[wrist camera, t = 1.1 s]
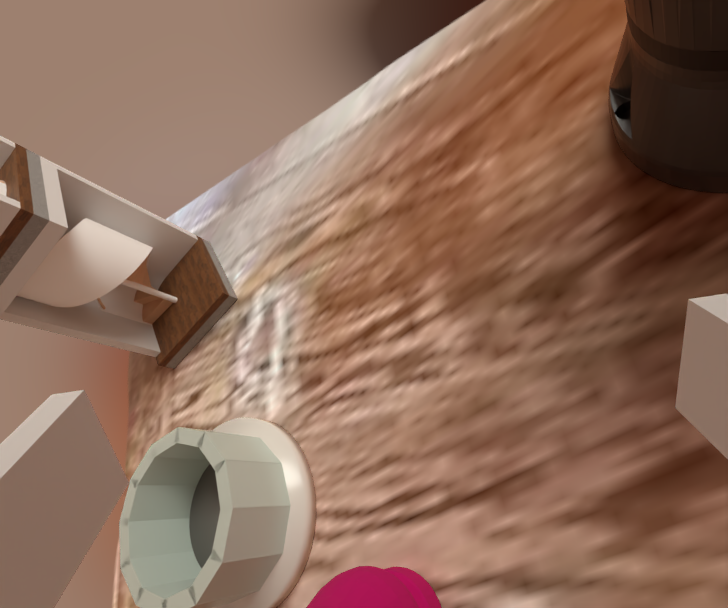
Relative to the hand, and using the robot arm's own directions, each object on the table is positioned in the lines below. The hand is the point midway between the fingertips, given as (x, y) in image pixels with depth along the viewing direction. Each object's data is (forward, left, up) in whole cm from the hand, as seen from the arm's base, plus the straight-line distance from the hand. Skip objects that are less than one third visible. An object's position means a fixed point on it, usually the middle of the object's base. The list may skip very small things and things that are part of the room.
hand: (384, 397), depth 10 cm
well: (+21, -19, -23) cm, 37 cm away
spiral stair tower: (+11, -42, -23) cm, 50 cm away
